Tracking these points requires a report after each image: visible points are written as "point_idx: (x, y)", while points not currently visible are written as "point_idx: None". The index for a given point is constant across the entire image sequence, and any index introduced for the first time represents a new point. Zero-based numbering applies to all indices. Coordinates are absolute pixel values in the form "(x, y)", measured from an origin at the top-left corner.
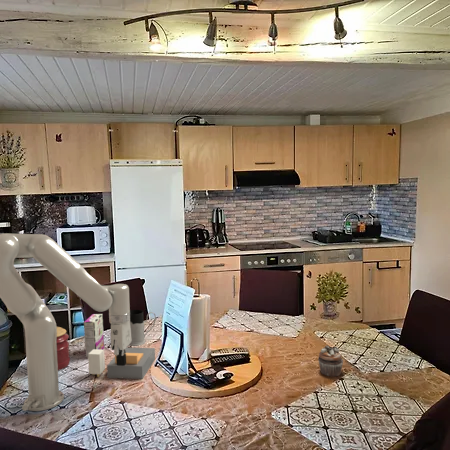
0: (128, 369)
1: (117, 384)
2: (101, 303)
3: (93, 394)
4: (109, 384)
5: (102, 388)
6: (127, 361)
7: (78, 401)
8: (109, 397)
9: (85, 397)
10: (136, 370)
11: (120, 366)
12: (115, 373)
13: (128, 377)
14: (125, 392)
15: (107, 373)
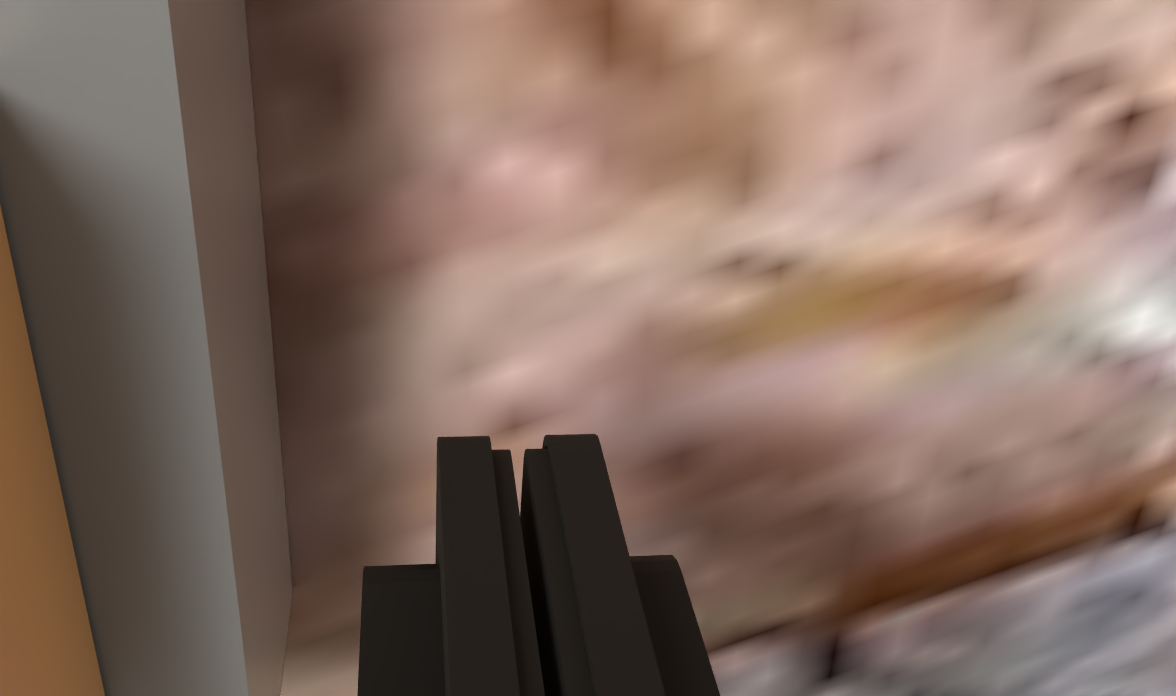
0: (226, 276)
1: (573, 319)
2: None
3: (926, 565)
4: None
5: (728, 517)
6: (20, 461)
7: (1097, 661)
8: (1096, 287)
9: (999, 628)
10: (204, 3)
11: (237, 537)
12: (269, 519)
13: (255, 182)
14: (961, 30)
15: (283, 658)
